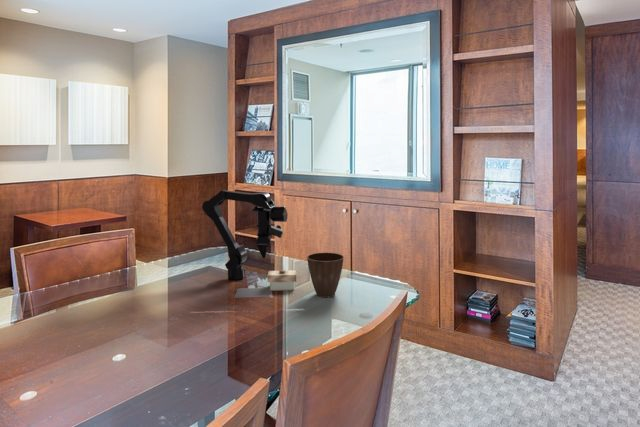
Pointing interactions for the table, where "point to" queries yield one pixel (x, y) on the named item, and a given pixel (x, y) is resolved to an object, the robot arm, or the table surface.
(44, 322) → the table surface
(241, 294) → the mat
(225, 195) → the robot arm
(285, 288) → the dish
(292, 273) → the lid
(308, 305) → the table surface
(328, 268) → the plant pot
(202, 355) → the table surface
